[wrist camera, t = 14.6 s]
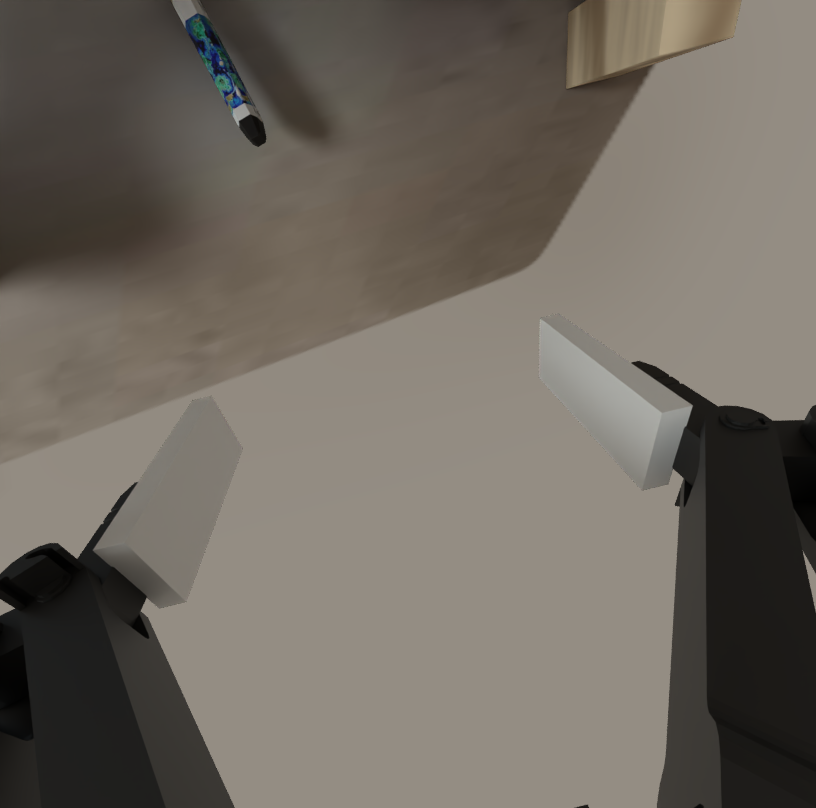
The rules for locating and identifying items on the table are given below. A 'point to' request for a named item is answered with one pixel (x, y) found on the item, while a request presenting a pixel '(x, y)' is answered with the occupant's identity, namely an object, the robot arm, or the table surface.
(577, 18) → the blade tool
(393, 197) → the table surface
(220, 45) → the knife
